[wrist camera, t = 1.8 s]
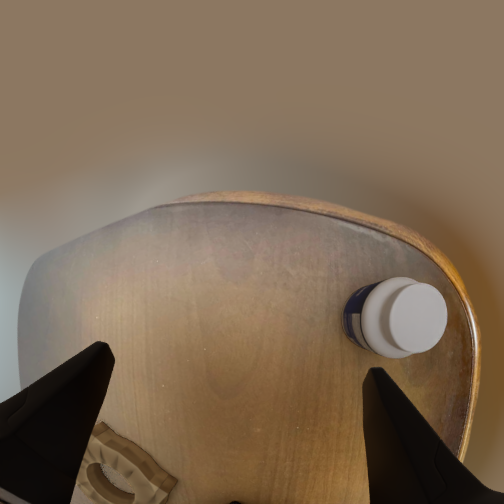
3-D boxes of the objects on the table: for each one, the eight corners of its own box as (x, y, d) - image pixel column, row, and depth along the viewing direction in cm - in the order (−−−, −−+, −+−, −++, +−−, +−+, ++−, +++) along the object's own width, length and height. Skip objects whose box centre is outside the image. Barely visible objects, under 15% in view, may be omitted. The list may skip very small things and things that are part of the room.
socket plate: (186, 480, 21) (177, 495, 18) (145, 521, 19) (135, 533, 16) (100, 413, 23) (84, 420, 20) (72, 463, 21) (59, 471, 18)
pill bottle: (384, 276, 23) (440, 255, 14) (403, 331, 22) (465, 338, 12) (331, 300, 23) (364, 292, 14) (351, 356, 22) (394, 382, 13)
